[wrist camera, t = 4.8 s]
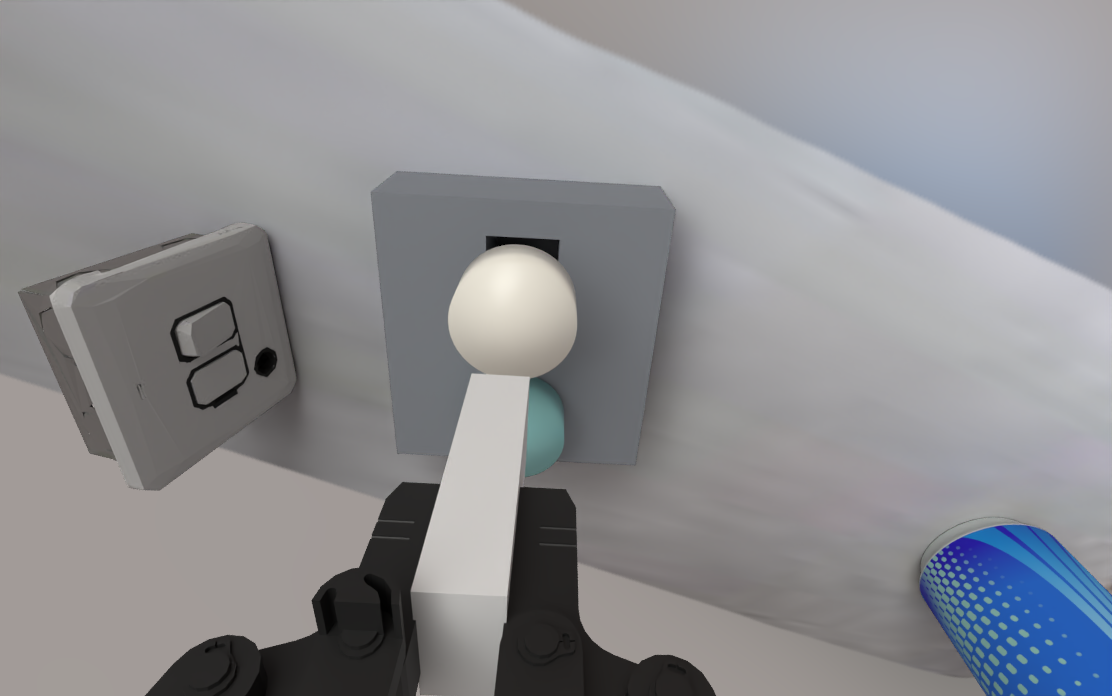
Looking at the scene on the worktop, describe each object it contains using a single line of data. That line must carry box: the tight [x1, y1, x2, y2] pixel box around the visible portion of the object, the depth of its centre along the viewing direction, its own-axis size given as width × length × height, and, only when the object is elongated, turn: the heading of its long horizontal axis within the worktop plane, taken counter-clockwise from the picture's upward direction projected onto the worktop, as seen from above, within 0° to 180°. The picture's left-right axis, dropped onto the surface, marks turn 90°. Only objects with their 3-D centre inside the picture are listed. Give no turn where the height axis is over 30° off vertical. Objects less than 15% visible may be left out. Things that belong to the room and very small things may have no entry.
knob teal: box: [525, 377, 564, 477], centre depth 27 cm, size 4×4×6 cm
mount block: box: [371, 171, 676, 465], centre depth 27 cm, size 13×12×4 cm
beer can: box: [919, 517, 1112, 696], centre depth 30 cm, size 8×8×16 cm
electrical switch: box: [18, 223, 296, 490], centre depth 25 cm, size 9×5×9 cm, turn 177°
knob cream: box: [448, 244, 577, 378], centre depth 22 cm, size 4×4×6 cm
